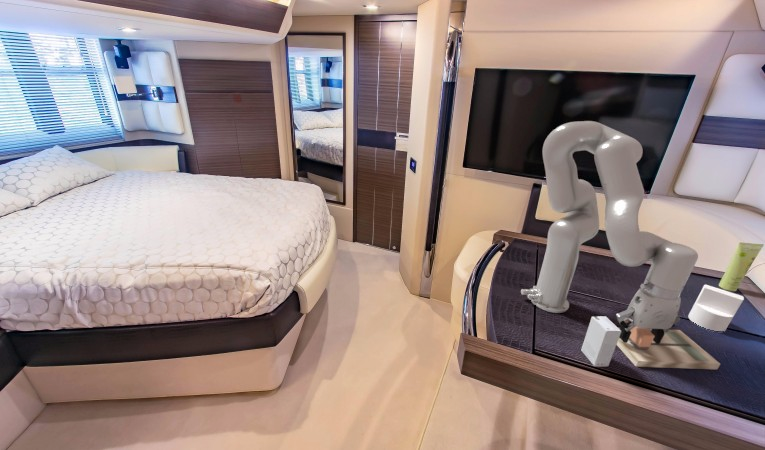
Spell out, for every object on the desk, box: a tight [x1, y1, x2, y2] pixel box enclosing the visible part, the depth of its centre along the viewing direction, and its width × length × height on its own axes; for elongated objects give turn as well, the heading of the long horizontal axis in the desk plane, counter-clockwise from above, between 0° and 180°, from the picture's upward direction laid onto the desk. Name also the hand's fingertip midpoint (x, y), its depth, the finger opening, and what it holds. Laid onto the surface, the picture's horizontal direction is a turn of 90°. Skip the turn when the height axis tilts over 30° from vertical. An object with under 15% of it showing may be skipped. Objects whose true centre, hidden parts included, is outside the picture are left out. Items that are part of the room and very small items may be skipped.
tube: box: [718, 242, 764, 292], centre depth 119 cm, size 6×5×20 cm
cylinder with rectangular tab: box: [687, 284, 745, 332], centre depth 102 cm, size 9×9×12 cm
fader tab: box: [629, 327, 655, 349], centre depth 90 cm, size 3×5×5 cm, turn 179°
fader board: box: [616, 327, 721, 370], centre depth 92 cm, size 22×13×2 cm, turn 89°
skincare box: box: [581, 315, 621, 368], centre depth 86 cm, size 6×4×12 cm
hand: (637, 339), depth 91 cm, fingers open, 8 cm apart
